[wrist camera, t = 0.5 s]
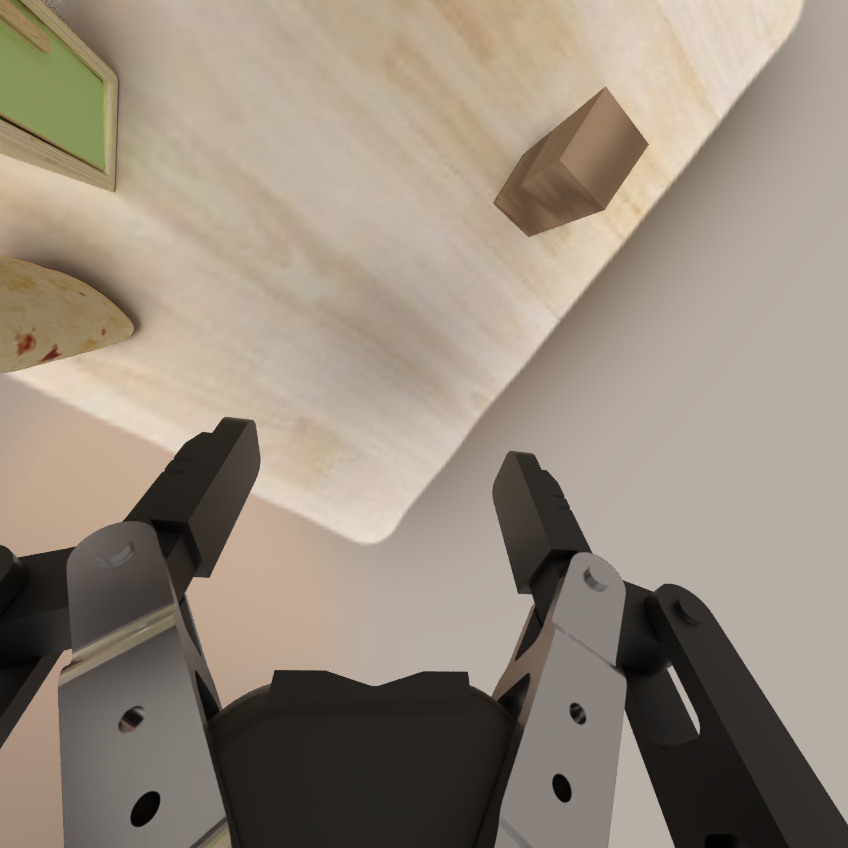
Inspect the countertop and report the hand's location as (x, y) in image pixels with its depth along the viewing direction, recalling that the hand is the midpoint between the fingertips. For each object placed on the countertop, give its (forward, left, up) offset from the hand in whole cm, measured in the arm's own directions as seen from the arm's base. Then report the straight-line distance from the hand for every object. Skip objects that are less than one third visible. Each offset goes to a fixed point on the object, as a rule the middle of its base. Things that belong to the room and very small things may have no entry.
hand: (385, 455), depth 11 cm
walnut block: (-11, +20, -26) cm, 35 cm away
